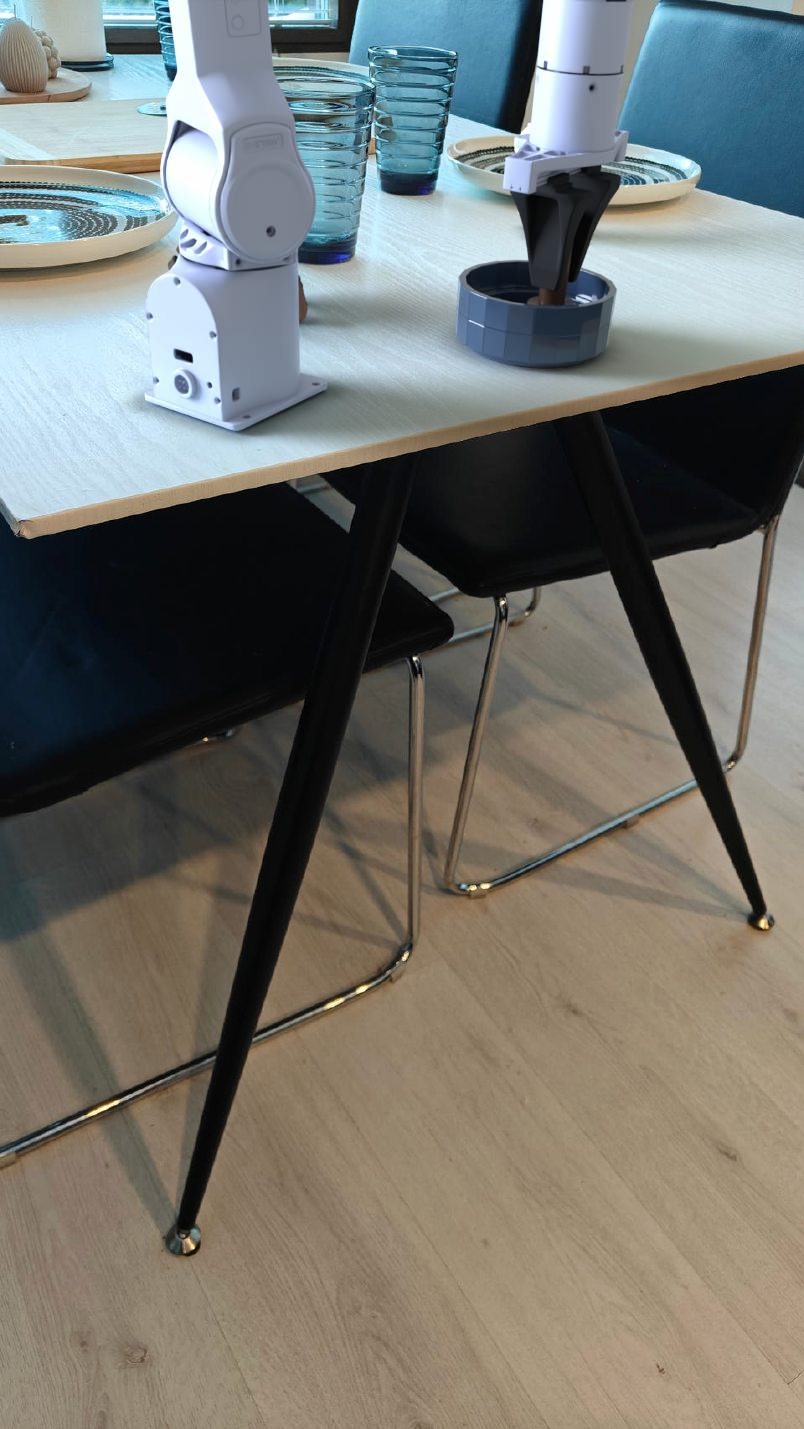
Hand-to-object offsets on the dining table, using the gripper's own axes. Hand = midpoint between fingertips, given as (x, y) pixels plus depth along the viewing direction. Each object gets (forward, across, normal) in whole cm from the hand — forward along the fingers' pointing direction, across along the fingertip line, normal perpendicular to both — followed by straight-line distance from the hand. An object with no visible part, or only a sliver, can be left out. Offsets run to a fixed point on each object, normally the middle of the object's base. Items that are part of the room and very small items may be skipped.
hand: (553, 283), depth 80 cm
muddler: (+3, 0, 0) cm, 3 cm away
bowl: (+4, +1, -1) cm, 5 cm away
